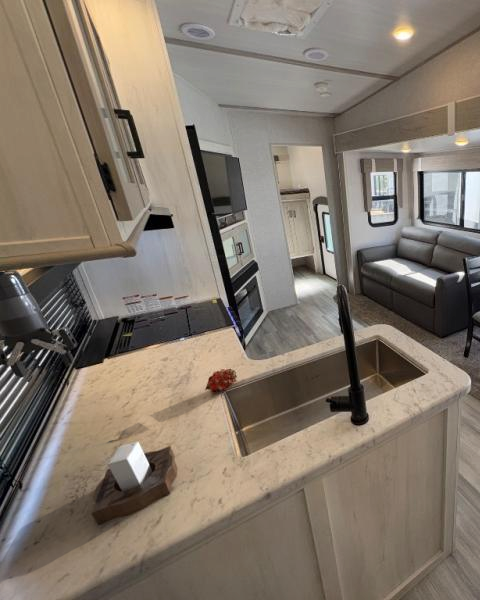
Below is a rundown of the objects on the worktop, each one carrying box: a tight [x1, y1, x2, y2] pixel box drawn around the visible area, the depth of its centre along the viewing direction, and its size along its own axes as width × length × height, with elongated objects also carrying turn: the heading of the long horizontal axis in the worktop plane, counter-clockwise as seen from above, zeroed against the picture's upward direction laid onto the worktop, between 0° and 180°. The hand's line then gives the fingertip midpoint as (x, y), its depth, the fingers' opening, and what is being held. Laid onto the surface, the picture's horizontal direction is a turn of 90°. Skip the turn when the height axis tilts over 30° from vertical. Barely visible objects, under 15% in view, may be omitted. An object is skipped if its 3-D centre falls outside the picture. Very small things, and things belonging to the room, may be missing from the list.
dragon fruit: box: [204, 368, 238, 394], centre depth 118 cm, size 8×8×12 cm
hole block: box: [90, 445, 178, 526], centre depth 80 cm, size 16×16×4 cm
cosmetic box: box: [107, 441, 153, 491], centre depth 78 cm, size 6×4×12 cm
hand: (47, 370), depth 80 cm, fingers open, 8 cm apart
